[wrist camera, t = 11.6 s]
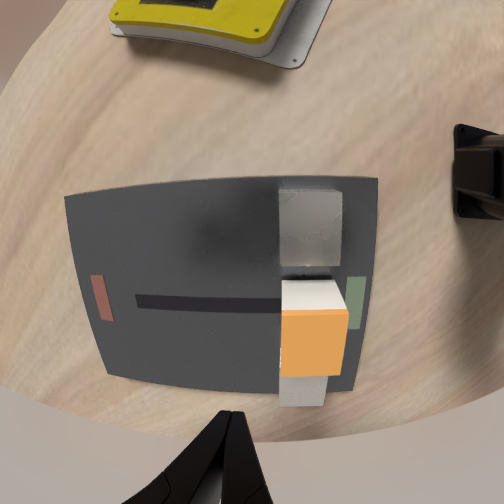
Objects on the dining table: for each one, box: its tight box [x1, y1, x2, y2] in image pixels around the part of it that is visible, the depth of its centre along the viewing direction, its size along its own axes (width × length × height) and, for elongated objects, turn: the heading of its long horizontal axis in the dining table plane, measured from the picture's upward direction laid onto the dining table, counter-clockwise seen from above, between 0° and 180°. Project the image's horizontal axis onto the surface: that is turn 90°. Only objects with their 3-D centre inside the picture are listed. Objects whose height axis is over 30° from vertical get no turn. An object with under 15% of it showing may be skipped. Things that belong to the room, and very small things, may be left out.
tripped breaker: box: [281, 280, 349, 377], centre depth 14 cm, size 3×4×4 cm
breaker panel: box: [64, 175, 378, 407], centre depth 17 cm, size 20×15×4 cm
